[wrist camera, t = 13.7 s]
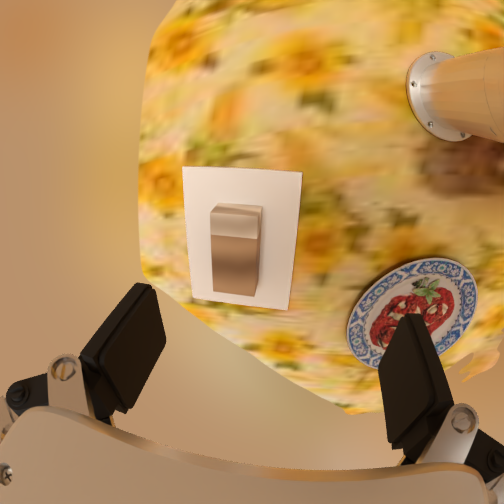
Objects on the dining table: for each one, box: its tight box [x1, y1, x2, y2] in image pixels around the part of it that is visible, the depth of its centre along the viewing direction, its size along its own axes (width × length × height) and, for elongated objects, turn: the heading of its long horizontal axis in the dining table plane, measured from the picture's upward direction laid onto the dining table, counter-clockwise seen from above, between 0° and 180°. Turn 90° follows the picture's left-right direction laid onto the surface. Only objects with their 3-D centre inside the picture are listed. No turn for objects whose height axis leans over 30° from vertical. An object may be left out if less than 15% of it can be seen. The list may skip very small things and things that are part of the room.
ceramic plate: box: [347, 258, 478, 369], centre depth 41 cm, size 26×26×3 cm
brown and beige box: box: [210, 203, 262, 297], centre depth 38 cm, size 12×6×4 cm, turn 178°
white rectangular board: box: [182, 166, 302, 310], centre depth 40 cm, size 16×22×1 cm
